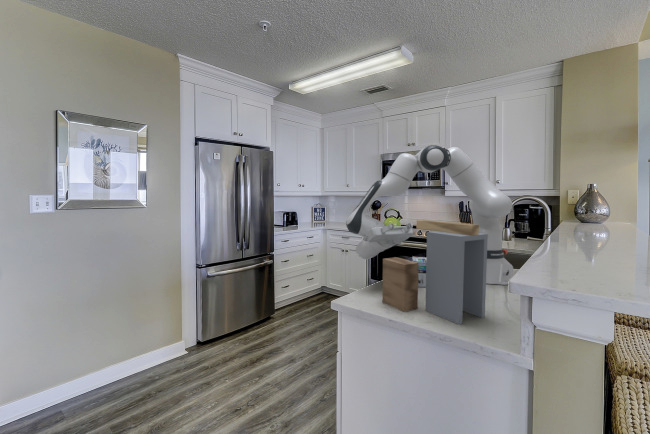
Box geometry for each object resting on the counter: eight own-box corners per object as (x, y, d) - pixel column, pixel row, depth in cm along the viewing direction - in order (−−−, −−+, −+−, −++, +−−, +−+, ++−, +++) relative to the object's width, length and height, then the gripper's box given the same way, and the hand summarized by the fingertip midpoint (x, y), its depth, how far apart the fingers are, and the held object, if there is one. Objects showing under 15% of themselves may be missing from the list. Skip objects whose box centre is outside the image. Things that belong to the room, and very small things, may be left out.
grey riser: (450, 304, 111) (452, 229, 109) (484, 316, 100) (487, 234, 98) (425, 310, 105) (427, 231, 103) (458, 324, 94) (461, 236, 92)
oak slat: (423, 228, 115) (423, 219, 115) (478, 234, 96) (479, 224, 96) (416, 228, 113) (416, 220, 113) (471, 235, 94) (471, 225, 94)
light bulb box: (430, 287, 131) (430, 261, 130) (413, 286, 132) (413, 261, 132) (427, 280, 141) (427, 256, 141) (411, 280, 143) (411, 256, 142)
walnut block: (395, 299, 117) (396, 257, 116) (417, 308, 107) (418, 262, 106) (382, 301, 114) (382, 258, 113) (403, 311, 104) (404, 264, 103)
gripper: (358, 233, 130) (377, 218, 119) (397, 231, 139) (418, 217, 128) (362, 247, 127) (382, 234, 116) (402, 244, 137) (423, 231, 126)
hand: (401, 225), depth 122 cm, fingers open, 8 cm apart
